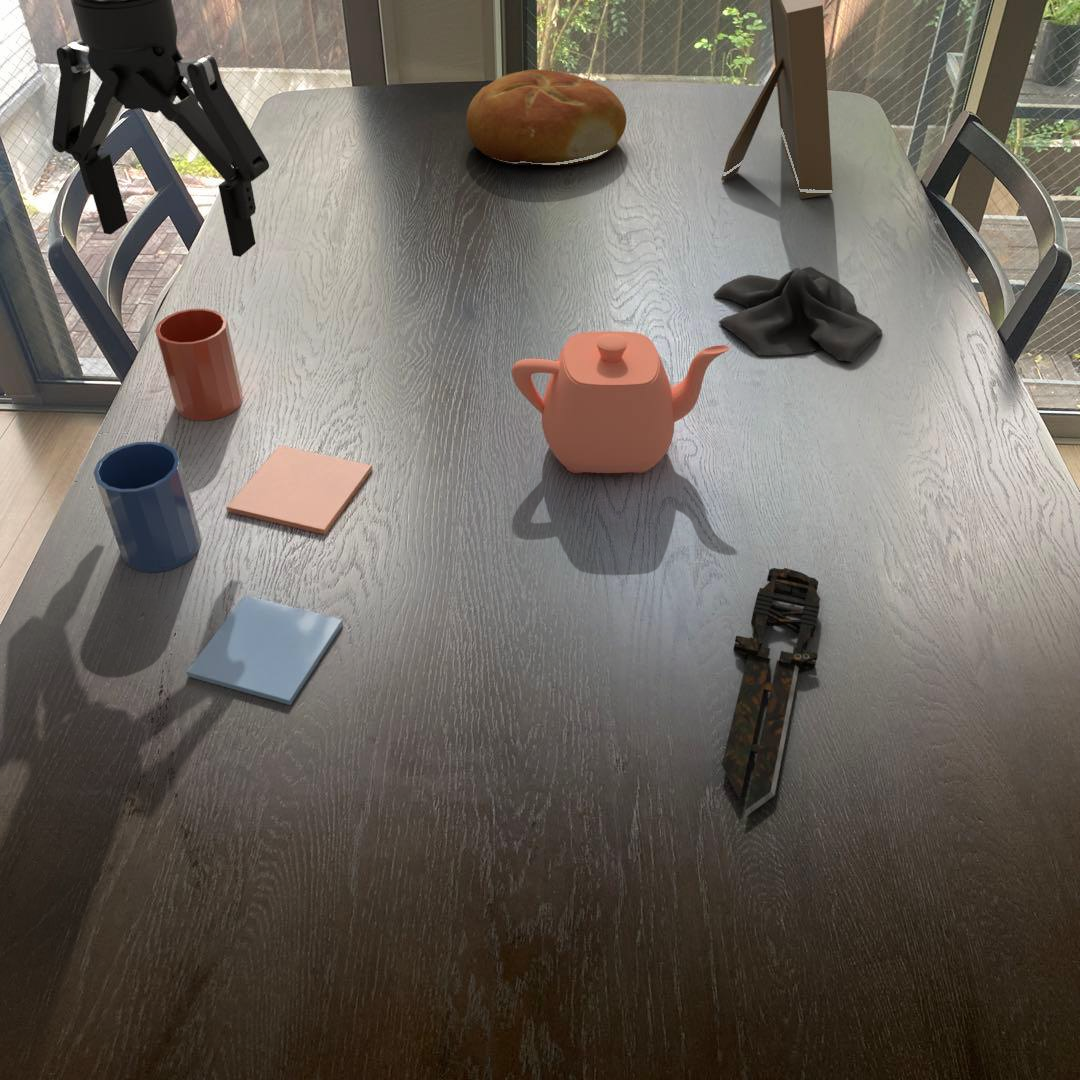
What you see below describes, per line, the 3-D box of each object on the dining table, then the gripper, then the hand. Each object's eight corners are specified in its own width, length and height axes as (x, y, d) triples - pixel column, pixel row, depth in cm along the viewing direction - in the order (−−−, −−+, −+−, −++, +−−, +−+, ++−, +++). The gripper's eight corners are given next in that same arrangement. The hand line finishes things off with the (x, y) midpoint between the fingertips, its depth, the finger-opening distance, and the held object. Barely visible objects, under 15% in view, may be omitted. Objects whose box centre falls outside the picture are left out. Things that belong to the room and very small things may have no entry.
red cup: (162, 413, 111) (141, 337, 105) (198, 378, 116) (180, 303, 110) (221, 426, 109) (202, 349, 103) (255, 390, 114) (239, 314, 108)
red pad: (227, 511, 99) (225, 506, 99) (280, 449, 106) (279, 444, 106) (325, 535, 97) (324, 530, 96) (372, 470, 104) (372, 465, 103)
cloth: (894, 367, 118) (907, 317, 114) (723, 362, 118) (730, 313, 114) (857, 269, 134) (867, 222, 130) (708, 266, 135) (713, 219, 131)
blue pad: (187, 676, 84) (185, 671, 84) (246, 599, 91) (245, 594, 90) (290, 705, 82) (289, 700, 82) (343, 624, 89) (342, 619, 88)
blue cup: (105, 562, 94) (76, 481, 88) (150, 514, 99) (125, 435, 93) (173, 580, 92) (148, 499, 86) (215, 530, 97) (195, 450, 91)
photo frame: (809, 138, 166) (839, -42, 149) (831, 199, 149) (868, 5, 133) (712, 136, 166) (731, -43, 149) (724, 197, 150) (747, 3, 133)
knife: (763, 829, 74) (766, 818, 73) (674, 798, 76) (675, 786, 75) (838, 592, 92) (841, 581, 91) (763, 572, 93) (765, 560, 92)
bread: (607, 185, 153) (610, 114, 146) (448, 169, 157) (445, 99, 150) (634, 126, 169) (638, 60, 162) (490, 113, 173) (488, 47, 166)
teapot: (724, 489, 102) (740, 380, 94) (512, 490, 102) (509, 381, 94) (706, 408, 112) (720, 303, 104) (513, 408, 112) (512, 303, 104)
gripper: (283, -12, 84) (320, 240, 99) (18, -39, 91) (89, 202, 105) (232, 16, 79) (279, 278, 93) (-45, -15, 85) (39, 236, 99)
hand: (179, 239), depth 99 cm, fingers open, 13 cm apart
